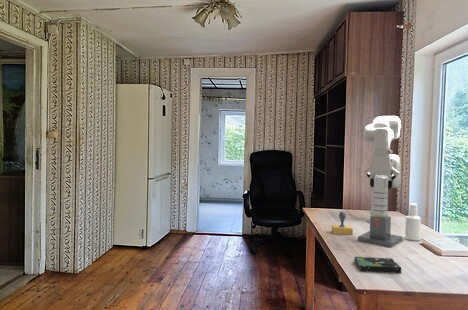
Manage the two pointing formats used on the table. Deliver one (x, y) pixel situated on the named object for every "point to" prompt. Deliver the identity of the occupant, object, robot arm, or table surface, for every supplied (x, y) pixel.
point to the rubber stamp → (342, 226)
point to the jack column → (380, 197)
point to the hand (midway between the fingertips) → (381, 187)
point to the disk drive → (377, 265)
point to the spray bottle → (413, 223)
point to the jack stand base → (380, 233)
